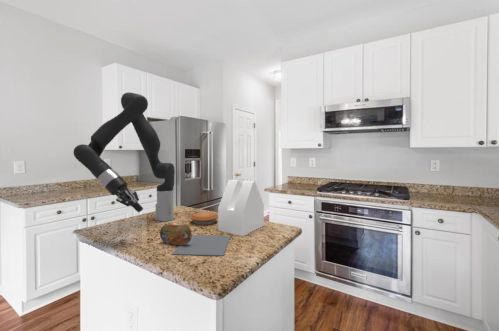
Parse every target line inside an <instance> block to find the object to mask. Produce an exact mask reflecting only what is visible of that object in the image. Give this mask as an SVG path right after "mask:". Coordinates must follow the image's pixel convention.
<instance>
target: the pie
mask: <svg viewBox="0 0 499 331" xmlns="http://www.w3.org/2000/svg"><path fill="white" fill-rule="evenodd" d="M189 218H190V219H191V220H192V222H193V223H194V224H195V225H197V226H208V225H212V224H214V223H215V222H216V220H217V219H218V213H215V212H212V211H200V212H195V213H193V214H192V215H190V216H189Z"/></svg>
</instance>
